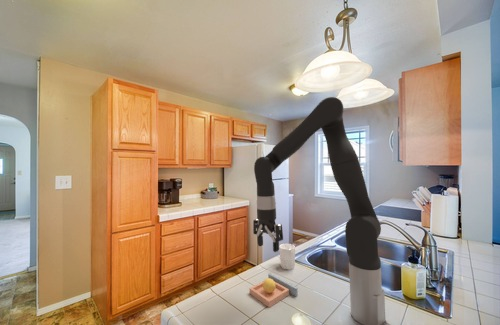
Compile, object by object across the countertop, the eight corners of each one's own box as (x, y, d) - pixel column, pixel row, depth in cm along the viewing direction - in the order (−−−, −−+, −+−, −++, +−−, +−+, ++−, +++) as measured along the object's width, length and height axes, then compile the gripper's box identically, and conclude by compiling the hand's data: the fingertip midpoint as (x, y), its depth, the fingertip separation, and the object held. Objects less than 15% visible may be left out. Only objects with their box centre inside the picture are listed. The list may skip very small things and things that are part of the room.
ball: (278, 292, 81) (277, 279, 81) (269, 297, 78) (268, 284, 78) (269, 286, 85) (268, 274, 85) (260, 291, 82) (259, 279, 82)
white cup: (294, 263, 107) (294, 243, 108) (296, 270, 99) (296, 249, 100) (279, 262, 108) (278, 243, 108) (280, 270, 100) (279, 249, 100)
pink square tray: (289, 294, 81) (289, 289, 81) (269, 307, 74) (269, 301, 74) (269, 283, 89) (269, 278, 89) (249, 293, 82) (249, 288, 82)
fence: (297, 295, 80) (297, 287, 80) (296, 296, 79) (295, 288, 79) (270, 280, 92) (269, 273, 92) (268, 280, 91) (268, 273, 91)
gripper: (286, 207, 79) (288, 250, 79) (261, 204, 90) (262, 241, 89) (272, 210, 74) (274, 256, 74) (247, 206, 85) (249, 246, 85)
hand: (267, 248), depth 82 cm, fingers open, 8 cm apart
